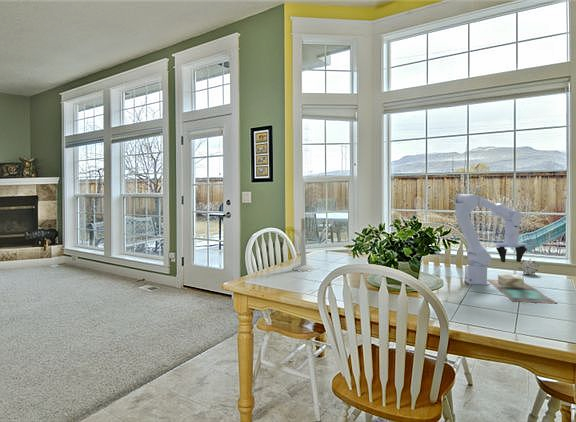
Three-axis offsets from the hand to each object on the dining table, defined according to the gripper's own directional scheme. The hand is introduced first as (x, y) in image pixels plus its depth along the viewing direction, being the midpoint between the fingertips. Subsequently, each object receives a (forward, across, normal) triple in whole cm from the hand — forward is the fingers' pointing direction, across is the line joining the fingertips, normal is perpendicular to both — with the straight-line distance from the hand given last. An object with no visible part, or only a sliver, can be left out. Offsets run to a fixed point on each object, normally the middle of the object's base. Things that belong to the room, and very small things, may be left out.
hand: (510, 261), depth 177 cm
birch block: (+9, -5, -8) cm, 13 cm away
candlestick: (+10, -100, +34) cm, 106 cm away
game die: (+10, +17, +11) cm, 22 cm away
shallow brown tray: (+10, -6, -15) cm, 19 cm away
